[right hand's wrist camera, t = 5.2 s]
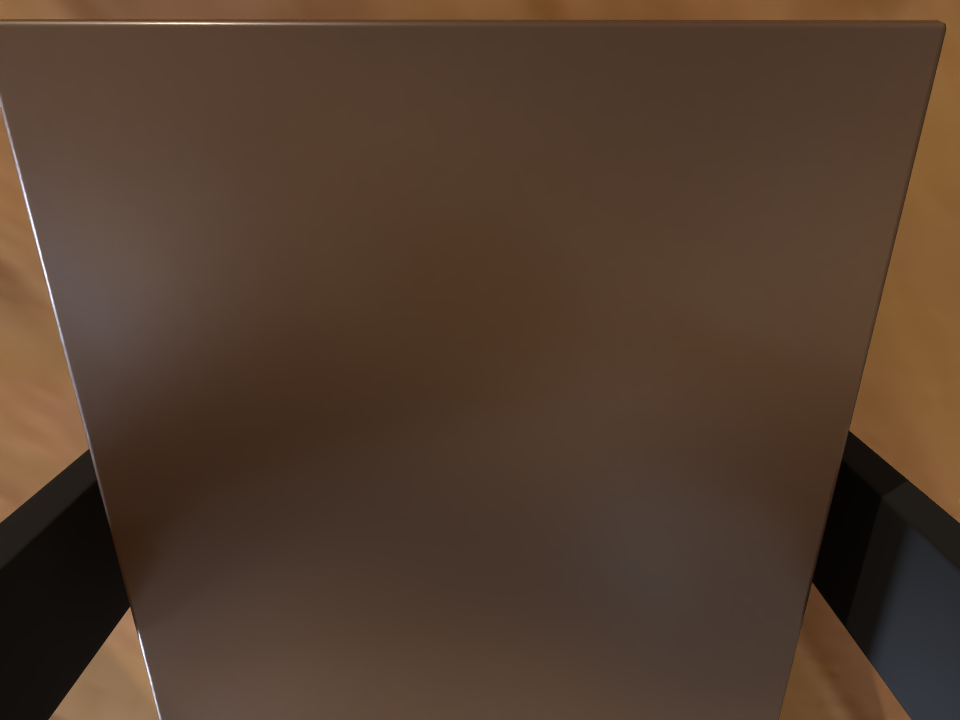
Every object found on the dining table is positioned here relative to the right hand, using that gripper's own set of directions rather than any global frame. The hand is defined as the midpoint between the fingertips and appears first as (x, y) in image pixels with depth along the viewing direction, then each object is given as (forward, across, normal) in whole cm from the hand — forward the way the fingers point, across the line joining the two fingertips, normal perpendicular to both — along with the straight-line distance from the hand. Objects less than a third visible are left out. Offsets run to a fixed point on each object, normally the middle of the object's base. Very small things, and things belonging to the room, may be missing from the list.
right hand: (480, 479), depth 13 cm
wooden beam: (+3, 0, -27) cm, 27 cm away
